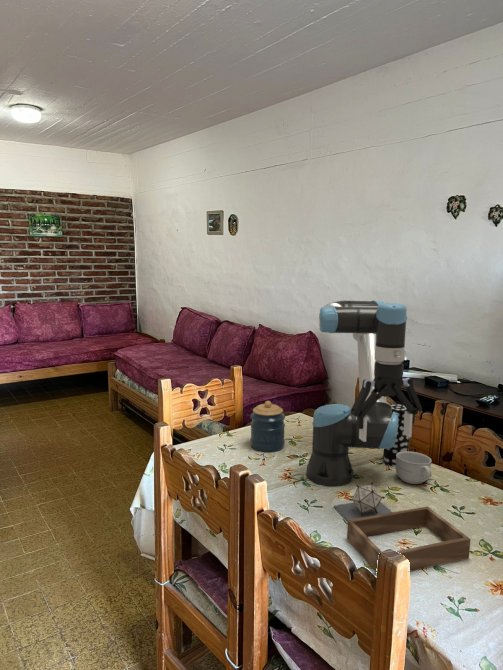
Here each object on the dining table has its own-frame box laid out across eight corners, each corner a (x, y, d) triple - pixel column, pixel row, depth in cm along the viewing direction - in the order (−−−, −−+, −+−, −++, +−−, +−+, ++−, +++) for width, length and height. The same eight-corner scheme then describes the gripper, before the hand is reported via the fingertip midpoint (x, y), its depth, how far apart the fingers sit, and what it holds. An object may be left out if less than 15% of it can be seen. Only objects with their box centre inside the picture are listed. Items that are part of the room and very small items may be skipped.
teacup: (389, 473, 163) (391, 450, 162) (421, 472, 164) (422, 449, 162) (406, 493, 149) (408, 468, 148) (440, 492, 150) (442, 467, 149)
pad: (334, 507, 140) (334, 505, 140) (376, 500, 145) (376, 498, 144) (354, 529, 129) (355, 527, 129) (400, 521, 133) (400, 519, 133)
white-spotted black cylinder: (381, 464, 169) (384, 409, 166) (384, 455, 177) (387, 402, 174) (406, 468, 166) (410, 412, 163) (408, 459, 174) (411, 405, 171)
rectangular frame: (346, 538, 125) (347, 520, 124) (426, 523, 132) (427, 506, 131) (381, 577, 110) (382, 557, 109) (468, 558, 117) (470, 539, 116)
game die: (371, 527, 136) (385, 511, 129) (343, 513, 137) (355, 497, 130) (377, 499, 142) (390, 483, 135) (349, 487, 143) (361, 470, 136)
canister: (246, 450, 181) (247, 404, 178) (254, 438, 193) (254, 395, 190) (281, 454, 178) (282, 407, 175) (287, 441, 190) (287, 397, 188)
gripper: (352, 367, 124) (349, 446, 127) (438, 362, 130) (433, 438, 133) (339, 360, 131) (337, 436, 134) (422, 356, 137) (417, 429, 140)
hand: (385, 437), depth 134 cm, fingers open, 13 cm apart
